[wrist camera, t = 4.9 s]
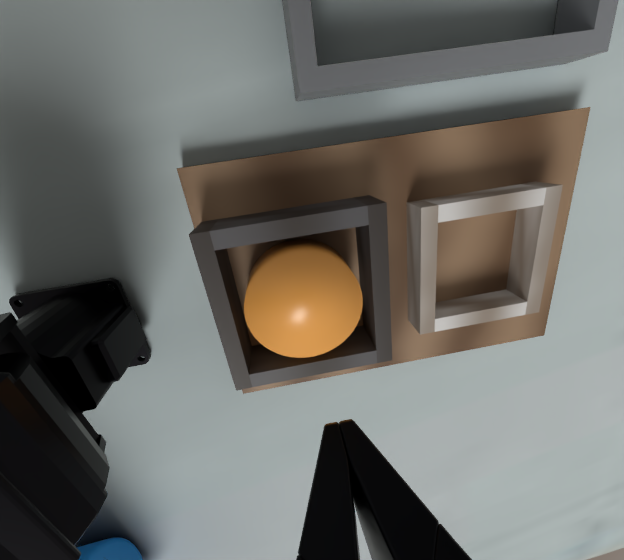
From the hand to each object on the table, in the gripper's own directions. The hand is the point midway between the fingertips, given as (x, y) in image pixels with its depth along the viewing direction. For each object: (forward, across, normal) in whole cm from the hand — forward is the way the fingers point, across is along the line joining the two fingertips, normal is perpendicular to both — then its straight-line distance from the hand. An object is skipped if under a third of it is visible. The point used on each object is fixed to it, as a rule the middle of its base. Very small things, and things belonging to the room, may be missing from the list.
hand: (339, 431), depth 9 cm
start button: (+11, 0, 0) cm, 11 cm away
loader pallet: (+13, -6, 0) cm, 14 cm away
